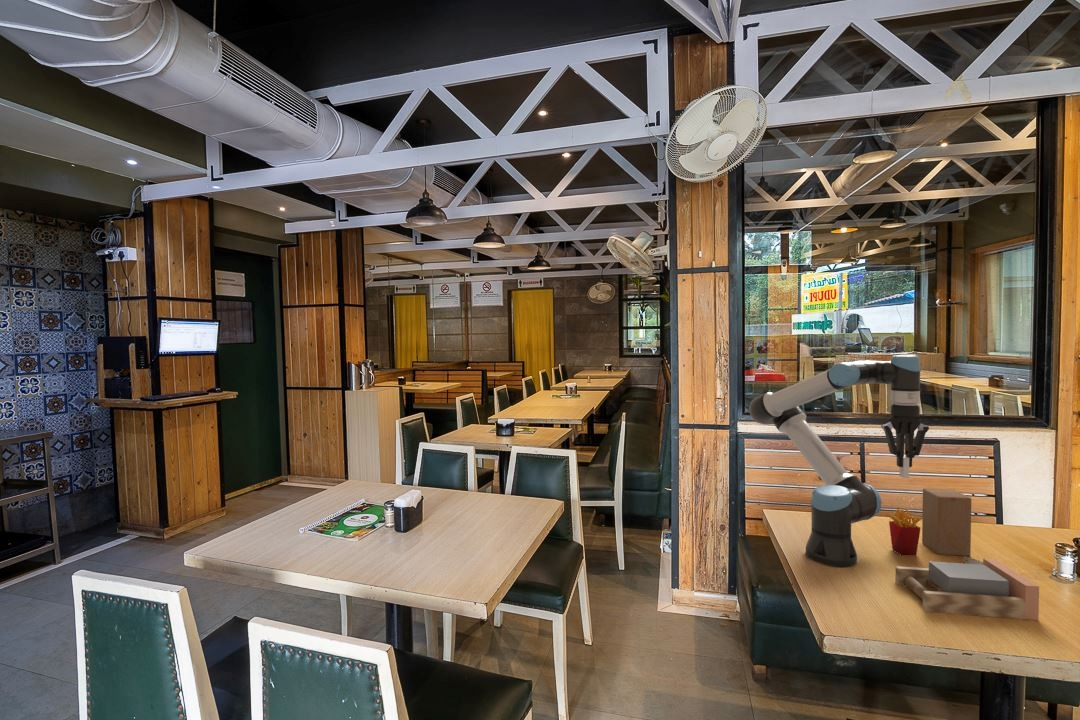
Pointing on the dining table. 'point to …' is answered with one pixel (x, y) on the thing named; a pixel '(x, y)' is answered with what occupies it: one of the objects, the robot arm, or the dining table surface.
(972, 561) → the stone
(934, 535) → the wooden block
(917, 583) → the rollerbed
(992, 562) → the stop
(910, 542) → the french fries
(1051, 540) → the dining table surface
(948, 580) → the slab
